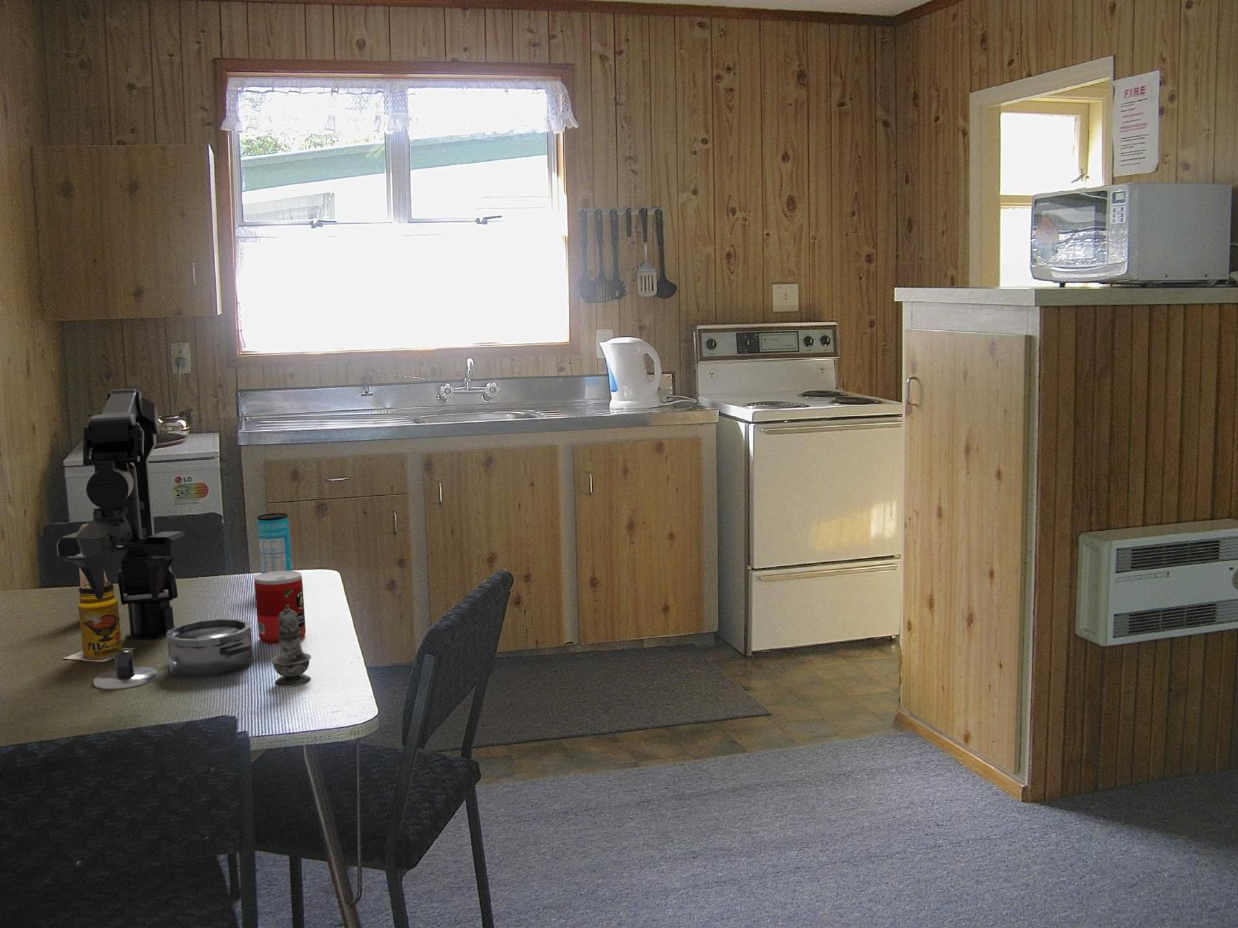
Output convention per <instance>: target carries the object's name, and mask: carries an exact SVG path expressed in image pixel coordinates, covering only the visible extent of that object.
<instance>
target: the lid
mask: <svg viewBox="0 0 1238 928" xmlns="http://www.w3.org/2000/svg"><path fill="white" fill-rule="evenodd" d="M114 657H115V658H114V665H115V669H114V670H110V671H107V672H104V673H101V674H100V675H98V676H96V677H95V678H94V679H93V686H94V687H95V688H97V689H101V690H121V689H122V688H123V689H128V688H129V689H130V688H135V687H139V685H140V686H142V685H145V684H146V685H147V684H148V683H151V682H153V681H155V680H156V679H157V678H158V674H159V673H158V670H157V669H155V668H153V667H147V666H145V667H144V666H136V667H135V665H134V656H133V649H121V650H117V651H115V652H114ZM154 679H155V680H154Z"/></svg>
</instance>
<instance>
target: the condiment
mask: <svg viewBox="0 0 1238 928" xmlns="http://www.w3.org/2000/svg"><path fill="white" fill-rule="evenodd" d="M114 587H115V585H114V584H113V583H112V582H110V581H108V582H104V594H103V598H102V599H97V598H96V596H95V594H94V592H93V590H92V588H91V586H90V584H89V583H88V584H85V585H83V586H81V587H79V588H78V593H79V603H78V604H77V608H78V618H79V626H80V637H81V638H80V639H81V645H82V646H81V647H82V648H81V649H82V650H81V651H78V652H76V653H74V654H73V653H72V654H70V655H68V656H65V657H62V659H63V660H64V659H67V660H75V661H76V660H77V661H78V660H79V661H85V662H86V661H87V662H99V663H101V662H107V661H110V660H112V659H115V657H114V652H115V651H117V650H121V649H132V650H134V649H136V648H135V647H123V644H122V643H123V642H122V631H121V623H120V622H121V621H120V615H119V614H120V611H119V602H118V600H117V598H116V596H115V590H114V589H115V588H114Z"/></svg>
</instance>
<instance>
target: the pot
mask: <svg viewBox="0 0 1238 928" xmlns="http://www.w3.org/2000/svg"><path fill="white" fill-rule="evenodd" d="M251 629H252V628H251V622H250V621H248V620H244V619H240V618H222V617H220V618H211V619H209V618H208V619H202V620H196V621H192V622H187V623H184V624H178V625H177V627H174V628H172V629H170V630H168V631H167V635H165V637H166V643H167V651H168V653H167V654H168V662H169V663H168V665H169V671H170V672H169V673H170V674H171V675H173V676H174V677H179V678H184V679H185V678H186V679H204V678H214V677H215V678H216V677H220V676H225V675H226V674H227V675H230V674H233V673H237V672H240V671H243V670H245V669H247V668H249V667H251V665H252V664H254V655H253V643H252V640H253V639H252V630H251Z"/></svg>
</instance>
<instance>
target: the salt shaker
mask: <svg viewBox="0 0 1238 928" xmlns="http://www.w3.org/2000/svg"><path fill="white" fill-rule="evenodd" d="M289 607H290V606H289V605H288V604H287V605H286V607H285V608H286V609H285V610H284V611H282V612H281V613H280V614H279V616H278V621H279V633H278V634H277V637H279V642H280V644H279V653H278V655H276V656H274V657H273V658H272V659H271V660H270V662H271V663H272V665H273V668H274V671H275V672H276V673H277V674H278V675H279V676H280V677H279V678H278V679H276V680H275V681H274V685H275V684H276V685H275V686H277V685H278V686H277V687H281V688H282V687H284V688H292V687H293V688H294V687H298V686H303V685H305V684H308V683H309V682H311V677H310V676H309V675H306V674H304V673H305V672H306V671H307V670H308V668H309V666H310V660H311V658H312V656H311V654H309V653H305V652H303V649H302V646H301V640H300V635H301V634H302V632H300V631H299V625H298V614H297V613H296V612H295V611H294V610H291V609H289Z"/></svg>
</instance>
